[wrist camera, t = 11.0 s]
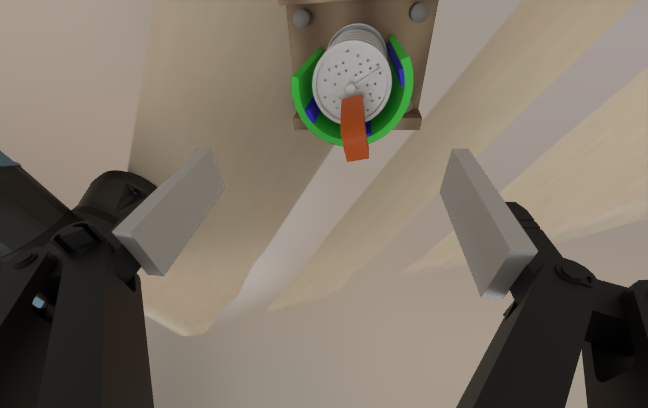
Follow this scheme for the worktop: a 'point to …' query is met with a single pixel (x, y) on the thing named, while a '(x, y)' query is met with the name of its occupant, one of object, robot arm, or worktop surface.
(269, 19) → the worktop surface
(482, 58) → the worktop surface
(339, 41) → the green-shelled ribbed roller
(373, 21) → the housing
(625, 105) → the worktop surface
